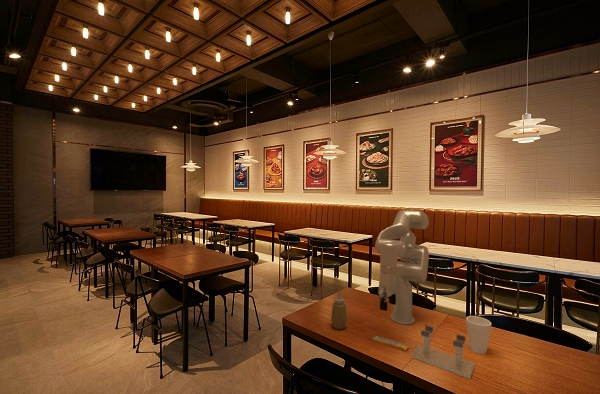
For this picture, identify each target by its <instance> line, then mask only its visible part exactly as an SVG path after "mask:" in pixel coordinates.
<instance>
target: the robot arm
mask: <svg viewBox="0 0 600 394" xmlns="http://www.w3.org/2000/svg"><path fill="white" fill-rule="evenodd" d="M429 223H430V221H429V217H428V215H427V213H425V212H424V211H422V210H414V209H411V210H410V209H401V210H399V211H398V212H397V213H396V215H395V218H394V221H393V223H392V225H391V226H388V227H387V228H385V229H383V230H382V231H381V232H379V234H378V236H377V238H376V240H375V244H374V250H375V252H376V253H377V254H378V255H380V256H379V257H380V258H379V259H380V261H379V263H380V264H379V273H380V274H379V280H378V291H377V292H378V299H379V309H380V310H381V311H385V312H388V304H389V305H390V304H391V305H393V311H392V313H391V314H390V316H389V317H390V319H391V321H393V322H395V323H397V324H400V325H413V324H414V323H416V318H415V317H414V316H413V287H412V284H411V283H410V282H414V283H415V282H416V283H424V282H426V281H427V276H428V268H429V259H430V257H429V256H430V255H429V249H428V247H427V246H424V245H421V244H416V240H417V237H416V235H415V233H414V232H413V231H412V230H411V229H415V230H417V229H418V230H425V229H426V230H427V228H428V226H429ZM397 239H399V240H397ZM398 259H399V260H400V261H398Z"/></svg>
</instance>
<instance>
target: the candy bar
mask: <svg viewBox="0 0 600 394" xmlns="http://www.w3.org/2000/svg"><path fill="white" fill-rule="evenodd" d="M370 340H371V341H374V342H377V343H379V344H382V345H386V346H389V347H392V348H395V349H397V350H401V351H407V350H408V348H410V345H409V346H408V345H406V344H403V343H400V342H397V341H394V340H391V339H387V338H385V337H382V336H381V337H380V336H377V335H376V334H373V335H372V336H371V338H370Z"/></svg>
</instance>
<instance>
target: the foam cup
mask: <svg viewBox="0 0 600 394" xmlns="http://www.w3.org/2000/svg"><path fill="white" fill-rule="evenodd" d="M465 324H466V330H467V331H466V332H467V337H468V338H467V339H468V347H469V350H470V351H472V352H474V353H475V354H480V355H485V354H487V351H488V346H489V340H490V336H491V335H490V334H491V331H492V322H491V321H490V320H489V319H486V318H485V317H481V316H477V315H476V316H475V315H469V316H466V318H465Z"/></svg>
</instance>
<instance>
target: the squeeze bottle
mask: <svg viewBox="0 0 600 394" xmlns="http://www.w3.org/2000/svg"><path fill="white" fill-rule="evenodd" d="M330 320H331V322H332V323H331V324H332V326H333V328H334V329H336V330H344V329H345V328H346V324H347V323H348V316H347V307H346V303H345V299H344V298H343V297H342V293H341V291H338V292H337V297H335V298H334V302H333V303H332V310H331V319H330Z"/></svg>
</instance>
